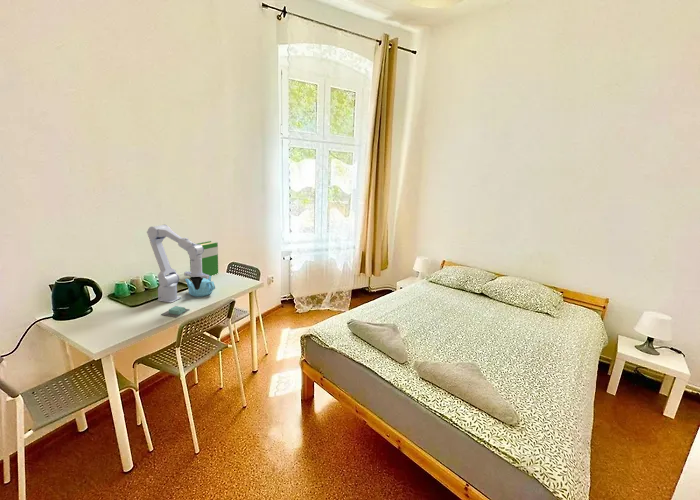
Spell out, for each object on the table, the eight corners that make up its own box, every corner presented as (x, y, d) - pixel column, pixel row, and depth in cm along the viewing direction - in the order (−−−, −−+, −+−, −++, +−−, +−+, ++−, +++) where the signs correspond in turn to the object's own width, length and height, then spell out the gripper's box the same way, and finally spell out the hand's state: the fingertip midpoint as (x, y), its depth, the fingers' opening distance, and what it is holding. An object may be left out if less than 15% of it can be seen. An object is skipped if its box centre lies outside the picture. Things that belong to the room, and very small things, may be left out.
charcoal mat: (161, 314, 165) (161, 314, 165) (175, 307, 174) (175, 306, 174) (176, 317, 163) (176, 316, 163) (189, 310, 173) (189, 309, 173)
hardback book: (211, 271, 237) (210, 241, 231) (218, 273, 234) (217, 242, 228) (190, 277, 221) (189, 245, 216) (198, 280, 218) (196, 246, 213)
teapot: (188, 299, 186) (188, 282, 184) (185, 290, 198) (184, 274, 195) (216, 295, 195) (215, 279, 192) (211, 287, 207) (210, 272, 204)
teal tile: (168, 309, 166) (178, 311, 165) (175, 305, 171) (185, 307, 170) (168, 313, 167) (178, 314, 166) (175, 309, 171) (185, 311, 170)
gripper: (179, 266, 172) (181, 289, 175) (203, 269, 169) (204, 293, 172) (188, 263, 178) (189, 285, 181) (211, 266, 176) (212, 289, 179)
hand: (197, 289), depth 177 cm, fingers closed
